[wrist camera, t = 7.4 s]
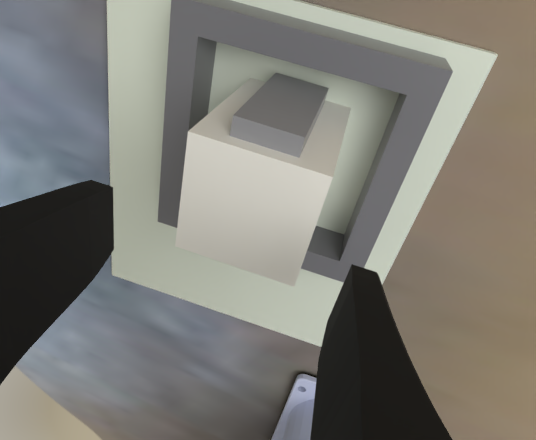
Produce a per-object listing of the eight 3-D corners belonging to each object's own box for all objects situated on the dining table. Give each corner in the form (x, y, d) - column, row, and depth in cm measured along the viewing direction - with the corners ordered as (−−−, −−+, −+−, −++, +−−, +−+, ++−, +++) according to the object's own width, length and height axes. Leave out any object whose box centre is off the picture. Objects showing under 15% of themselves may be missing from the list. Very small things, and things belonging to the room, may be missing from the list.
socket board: (347, 348, 23) (343, 386, 21) (116, 269, 24) (91, 298, 22) (494, 52, 14) (512, 68, 12) (113, -50, 15) (70, -51, 13)
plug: (320, 196, 18) (293, 286, 13) (233, 168, 18) (175, 245, 13) (356, 92, 15) (340, 156, 10) (253, 61, 15) (190, 109, 11)
